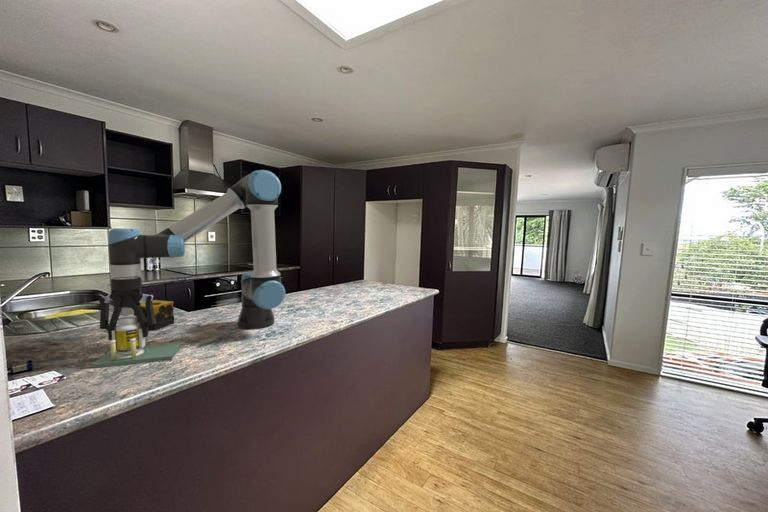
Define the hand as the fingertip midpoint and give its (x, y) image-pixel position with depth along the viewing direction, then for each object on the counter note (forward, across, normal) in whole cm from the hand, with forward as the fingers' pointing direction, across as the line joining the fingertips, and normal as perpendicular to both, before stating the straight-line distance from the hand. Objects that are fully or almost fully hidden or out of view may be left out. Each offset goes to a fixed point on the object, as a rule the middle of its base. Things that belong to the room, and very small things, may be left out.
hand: (129, 348), depth 99 cm
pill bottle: (+1, 0, 0) cm, 1 cm away
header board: (+3, -3, 0) cm, 4 cm away
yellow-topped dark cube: (+3, +3, -34) cm, 34 cm away
